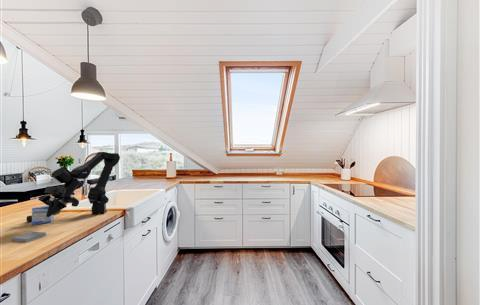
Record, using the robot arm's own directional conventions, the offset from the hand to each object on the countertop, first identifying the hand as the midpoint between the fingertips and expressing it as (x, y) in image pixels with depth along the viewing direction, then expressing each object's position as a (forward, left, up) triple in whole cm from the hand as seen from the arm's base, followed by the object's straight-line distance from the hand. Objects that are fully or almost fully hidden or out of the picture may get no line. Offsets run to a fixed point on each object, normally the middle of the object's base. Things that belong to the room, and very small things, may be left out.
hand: (47, 216), depth 104 cm
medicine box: (+10, -16, -7) cm, 21 cm away
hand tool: (+15, -27, -7) cm, 32 cm away
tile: (+2, +3, -7) cm, 8 cm away
